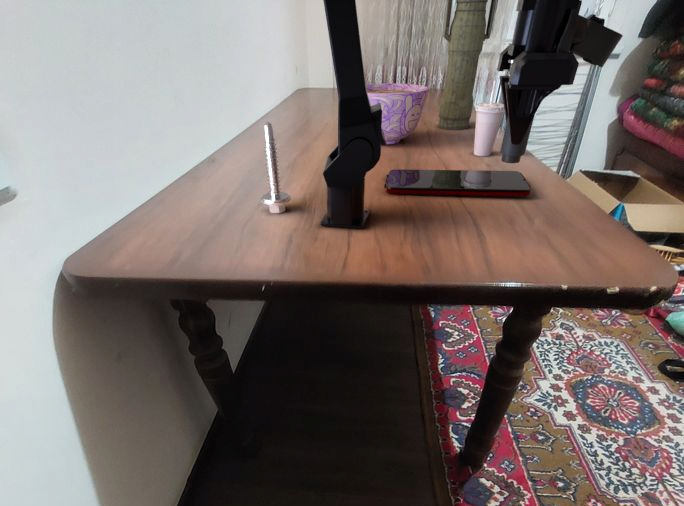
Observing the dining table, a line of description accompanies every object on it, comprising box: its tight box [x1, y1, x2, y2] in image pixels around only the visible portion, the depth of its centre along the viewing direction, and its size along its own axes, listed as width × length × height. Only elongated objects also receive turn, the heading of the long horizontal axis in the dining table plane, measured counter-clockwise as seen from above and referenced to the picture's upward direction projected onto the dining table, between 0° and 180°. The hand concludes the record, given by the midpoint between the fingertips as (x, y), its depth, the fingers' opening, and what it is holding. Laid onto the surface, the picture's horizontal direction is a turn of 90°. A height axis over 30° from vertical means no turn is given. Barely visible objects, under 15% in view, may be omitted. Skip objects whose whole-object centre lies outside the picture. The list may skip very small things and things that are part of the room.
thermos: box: [437, 0, 498, 131], centre depth 106 cm, size 9×12×35 cm
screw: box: [260, 121, 292, 214], centre depth 63 cm, size 13×5×5 cm
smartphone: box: [384, 168, 532, 198], centre depth 74 cm, size 12×2×25 cm
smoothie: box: [473, 79, 505, 157], centre depth 88 cm, size 6×6×14 cm
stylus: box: [499, 114, 536, 164], centre depth 53 cm, size 3×3×9 cm
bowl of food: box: [365, 82, 430, 145], centre depth 101 cm, size 20×20×12 cm
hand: (514, 141), depth 55 cm, fingers closed on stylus, 3 cm apart
